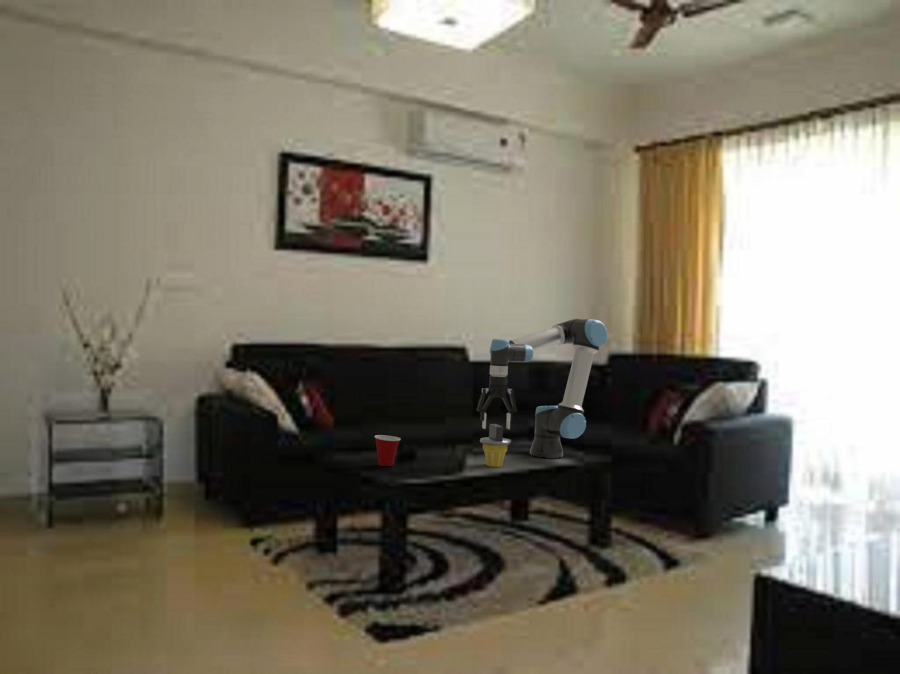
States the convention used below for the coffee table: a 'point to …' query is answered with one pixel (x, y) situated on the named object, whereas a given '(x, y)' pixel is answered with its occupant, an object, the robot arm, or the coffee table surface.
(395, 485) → the coffee table surface
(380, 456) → the plastic cup
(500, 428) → the steel lid
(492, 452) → the plant pot
